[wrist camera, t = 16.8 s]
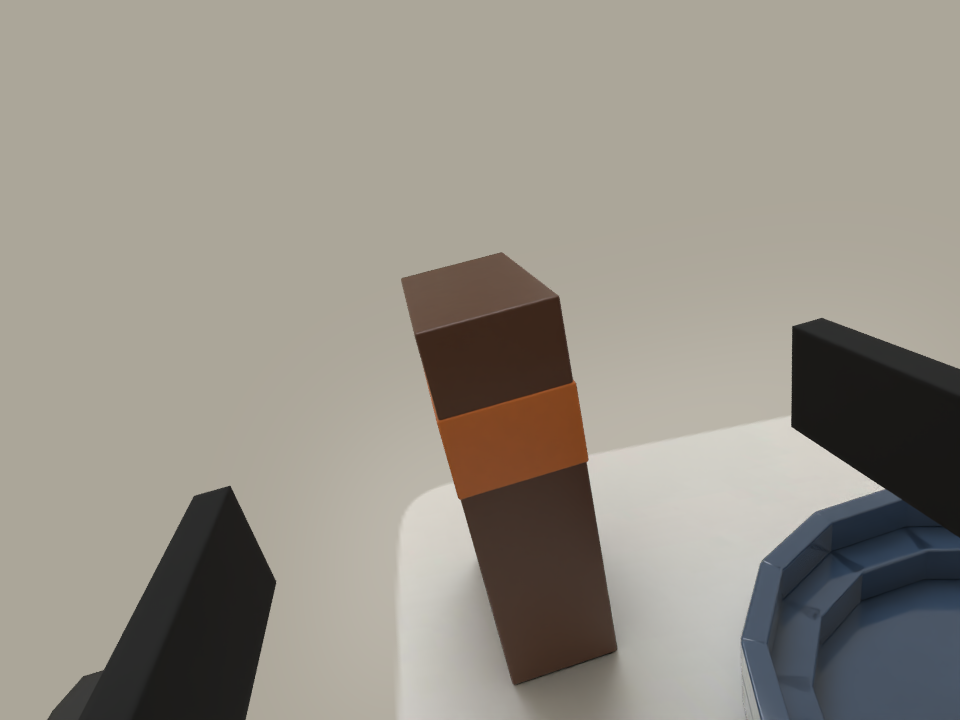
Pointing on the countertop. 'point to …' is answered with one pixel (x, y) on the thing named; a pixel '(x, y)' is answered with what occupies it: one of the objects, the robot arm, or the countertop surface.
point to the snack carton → (516, 456)
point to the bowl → (856, 618)
